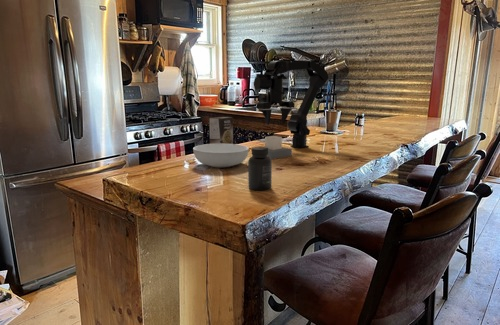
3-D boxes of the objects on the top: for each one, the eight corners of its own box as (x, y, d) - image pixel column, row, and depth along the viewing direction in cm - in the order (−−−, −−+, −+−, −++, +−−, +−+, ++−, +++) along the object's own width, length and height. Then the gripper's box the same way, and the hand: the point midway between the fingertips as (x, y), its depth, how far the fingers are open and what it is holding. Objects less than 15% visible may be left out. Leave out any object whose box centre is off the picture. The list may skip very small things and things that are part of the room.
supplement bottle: (271, 184, 110) (271, 146, 108) (271, 191, 104) (272, 150, 101) (248, 184, 111) (248, 146, 108) (247, 191, 104) (247, 150, 101)
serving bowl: (242, 172, 125) (242, 153, 124) (185, 170, 129) (184, 151, 128) (253, 160, 145) (253, 143, 144) (204, 158, 149) (203, 142, 148)
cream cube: (273, 147, 159) (273, 135, 158) (281, 148, 155) (281, 137, 154) (265, 148, 156) (265, 136, 155) (272, 149, 152) (272, 138, 151)
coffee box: (221, 156, 153) (220, 118, 150) (209, 155, 156) (208, 117, 153) (233, 153, 161) (233, 116, 157) (222, 151, 164) (221, 116, 160)
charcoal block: (274, 153, 163) (274, 145, 163) (291, 157, 155) (291, 148, 154) (255, 156, 157) (255, 148, 156) (272, 160, 148) (272, 151, 147)
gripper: (279, 89, 175) (278, 121, 179) (248, 89, 164) (248, 123, 167) (295, 89, 167) (294, 123, 170) (264, 89, 155) (264, 126, 159)
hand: (275, 123), depth 167 cm, fingers open, 9 cm apart
